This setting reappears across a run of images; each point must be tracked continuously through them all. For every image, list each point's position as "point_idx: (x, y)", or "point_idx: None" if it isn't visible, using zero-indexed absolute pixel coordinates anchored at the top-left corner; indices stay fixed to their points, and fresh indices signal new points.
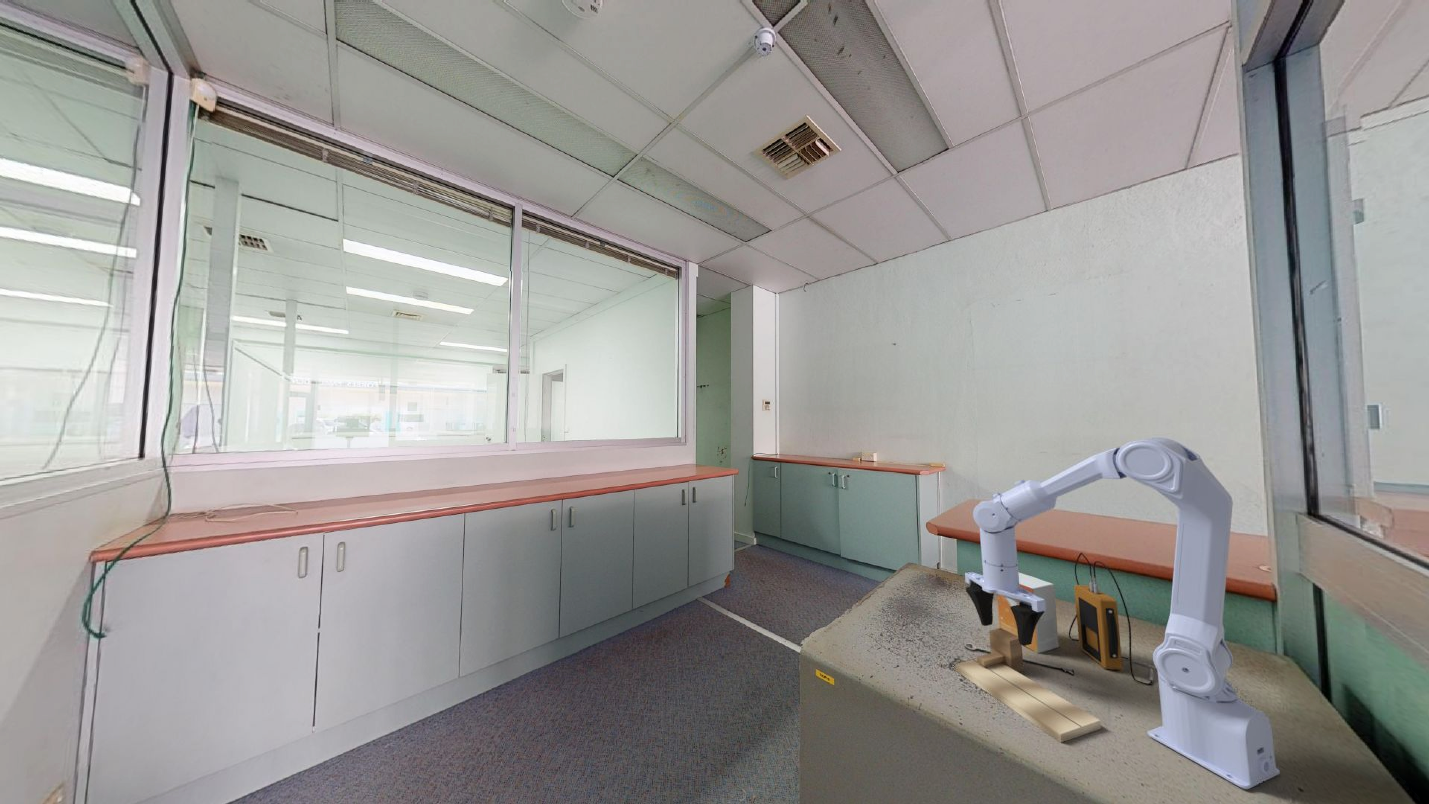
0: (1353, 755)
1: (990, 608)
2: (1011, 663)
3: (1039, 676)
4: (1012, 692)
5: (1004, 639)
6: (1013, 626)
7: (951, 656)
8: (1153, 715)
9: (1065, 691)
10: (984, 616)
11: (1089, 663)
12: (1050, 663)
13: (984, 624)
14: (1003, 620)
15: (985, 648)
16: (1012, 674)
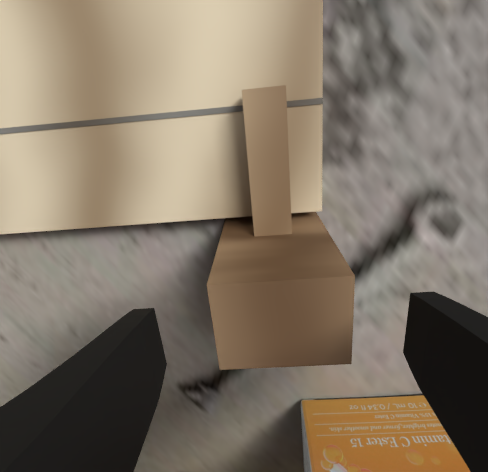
0: None
1: (480, 464)
2: (221, 234)
3: (192, 295)
4: (57, 61)
5: (240, 279)
6: (407, 450)
7: (422, 56)
8: (4, 400)
9: (109, 299)
10: (452, 348)
11: (217, 465)
12: (244, 384)
13: (415, 299)
14: (458, 454)
15: (397, 268)
16: (175, 184)
